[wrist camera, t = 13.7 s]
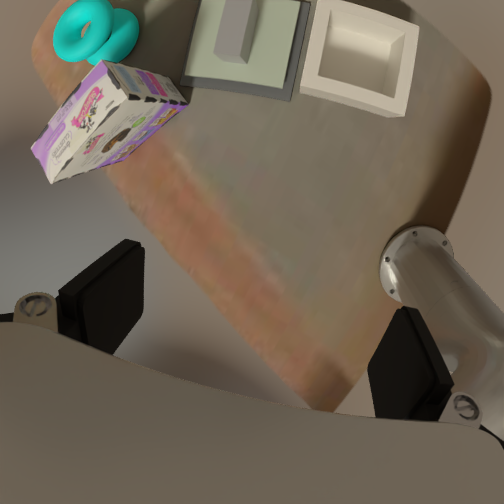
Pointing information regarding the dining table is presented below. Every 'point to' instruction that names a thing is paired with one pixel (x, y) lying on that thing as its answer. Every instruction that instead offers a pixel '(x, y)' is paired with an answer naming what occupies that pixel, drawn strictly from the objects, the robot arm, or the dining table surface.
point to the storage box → (360, 58)
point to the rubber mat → (249, 87)
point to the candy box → (105, 119)
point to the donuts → (95, 32)
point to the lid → (243, 40)
